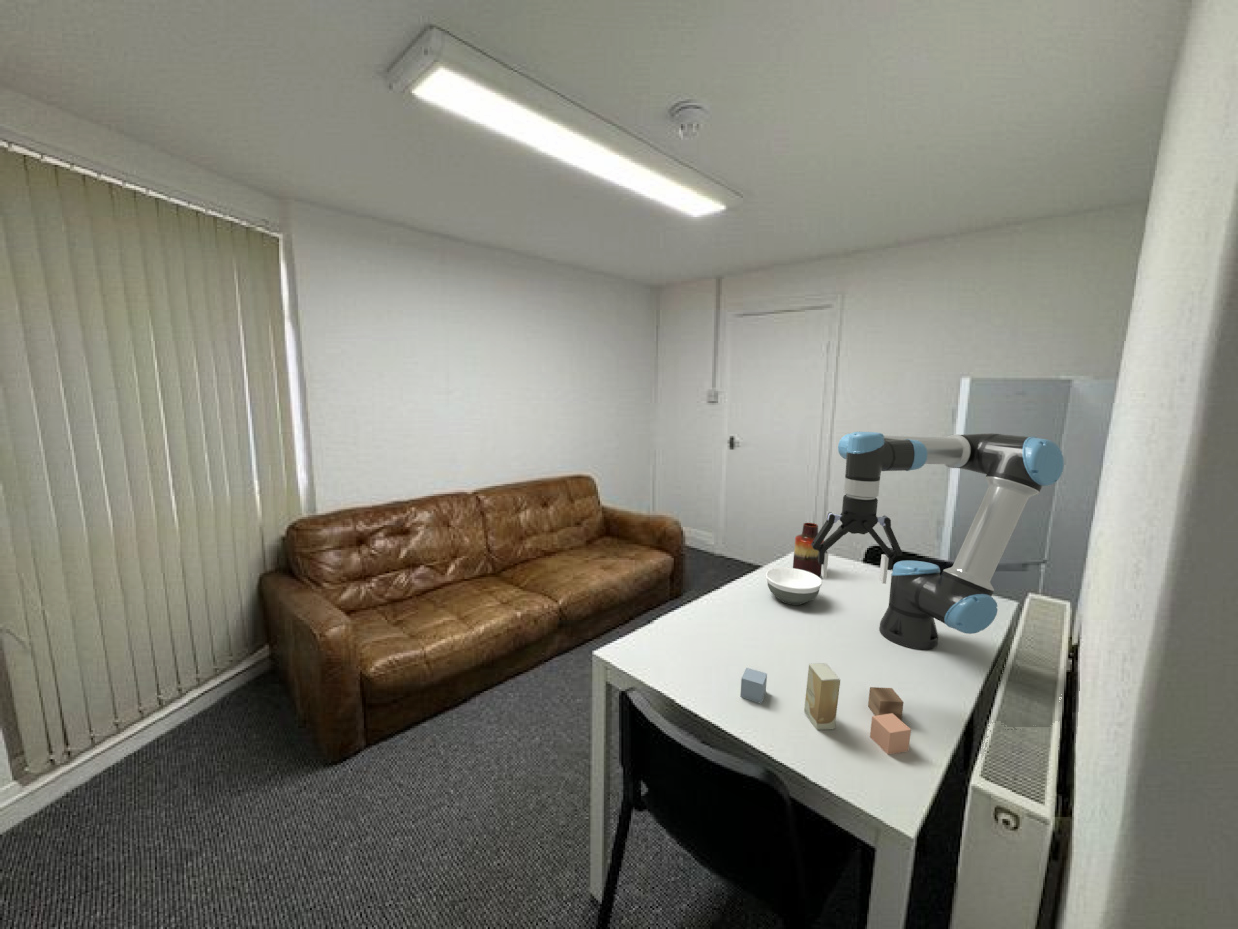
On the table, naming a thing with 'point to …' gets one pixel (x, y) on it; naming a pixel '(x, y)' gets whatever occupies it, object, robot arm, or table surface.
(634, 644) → the table surface
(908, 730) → the terracotta cube
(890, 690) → the walnut cube
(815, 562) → the vase
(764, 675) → the slate cube
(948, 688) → the table surface
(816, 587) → the bowl
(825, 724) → the skincare box
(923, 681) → the table surface
